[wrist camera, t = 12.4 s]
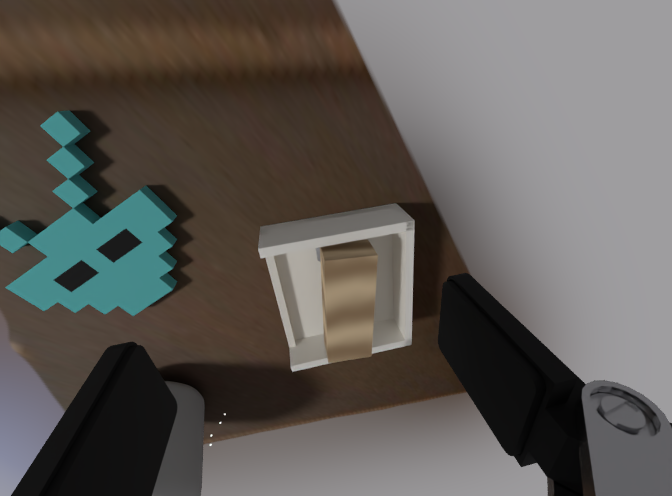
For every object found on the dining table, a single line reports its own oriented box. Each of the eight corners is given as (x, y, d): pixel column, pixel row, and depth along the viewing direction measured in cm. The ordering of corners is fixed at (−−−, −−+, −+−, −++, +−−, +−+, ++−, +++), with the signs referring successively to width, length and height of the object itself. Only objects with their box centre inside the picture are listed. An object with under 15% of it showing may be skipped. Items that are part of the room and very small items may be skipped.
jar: (244, 403, 52) (223, 624, 31) (184, 443, 54) (124, 676, 33) (152, 349, 43) (30, 611, 22) (84, 400, 45) (-90, 684, 24)
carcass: (260, 226, 37) (258, 248, 32) (396, 203, 39) (414, 220, 34) (290, 340, 47) (292, 371, 42) (397, 317, 49) (411, 344, 44)
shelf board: (319, 243, 35) (324, 260, 32) (368, 239, 36) (377, 255, 33) (324, 341, 43) (328, 363, 39) (363, 335, 44) (371, 356, 40)
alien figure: (-68, 221, 31) (103, 329, 41) (-91, 230, 29) (94, 341, 39) (72, 110, 29) (217, 253, 38) (57, 111, 27) (214, 261, 36)
